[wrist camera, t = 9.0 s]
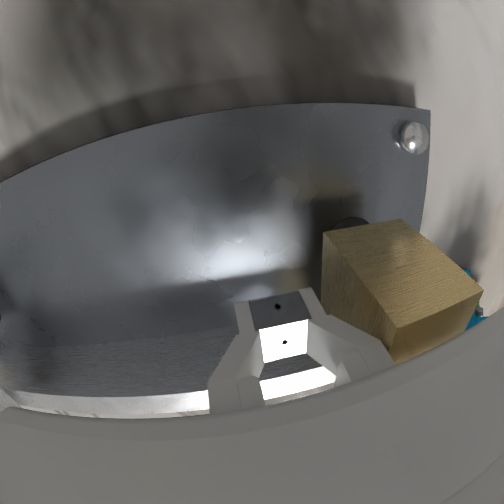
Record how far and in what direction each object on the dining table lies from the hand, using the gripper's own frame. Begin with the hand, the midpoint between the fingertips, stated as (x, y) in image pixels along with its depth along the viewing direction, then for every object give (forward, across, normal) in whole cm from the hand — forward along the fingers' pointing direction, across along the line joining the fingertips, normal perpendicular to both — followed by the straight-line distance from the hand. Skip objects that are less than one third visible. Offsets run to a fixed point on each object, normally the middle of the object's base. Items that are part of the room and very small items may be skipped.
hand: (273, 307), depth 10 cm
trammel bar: (+3, +7, +2) cm, 8 cm away
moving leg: (+3, -5, +2) cm, 6 cm away
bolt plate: (+5, +7, +2) cm, 8 cm away
